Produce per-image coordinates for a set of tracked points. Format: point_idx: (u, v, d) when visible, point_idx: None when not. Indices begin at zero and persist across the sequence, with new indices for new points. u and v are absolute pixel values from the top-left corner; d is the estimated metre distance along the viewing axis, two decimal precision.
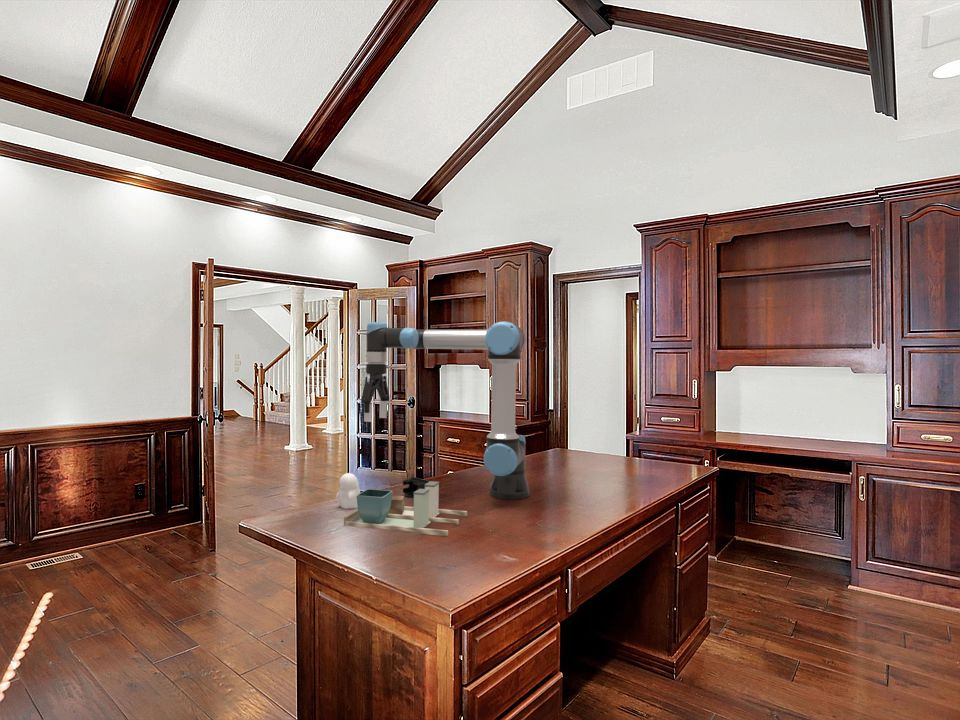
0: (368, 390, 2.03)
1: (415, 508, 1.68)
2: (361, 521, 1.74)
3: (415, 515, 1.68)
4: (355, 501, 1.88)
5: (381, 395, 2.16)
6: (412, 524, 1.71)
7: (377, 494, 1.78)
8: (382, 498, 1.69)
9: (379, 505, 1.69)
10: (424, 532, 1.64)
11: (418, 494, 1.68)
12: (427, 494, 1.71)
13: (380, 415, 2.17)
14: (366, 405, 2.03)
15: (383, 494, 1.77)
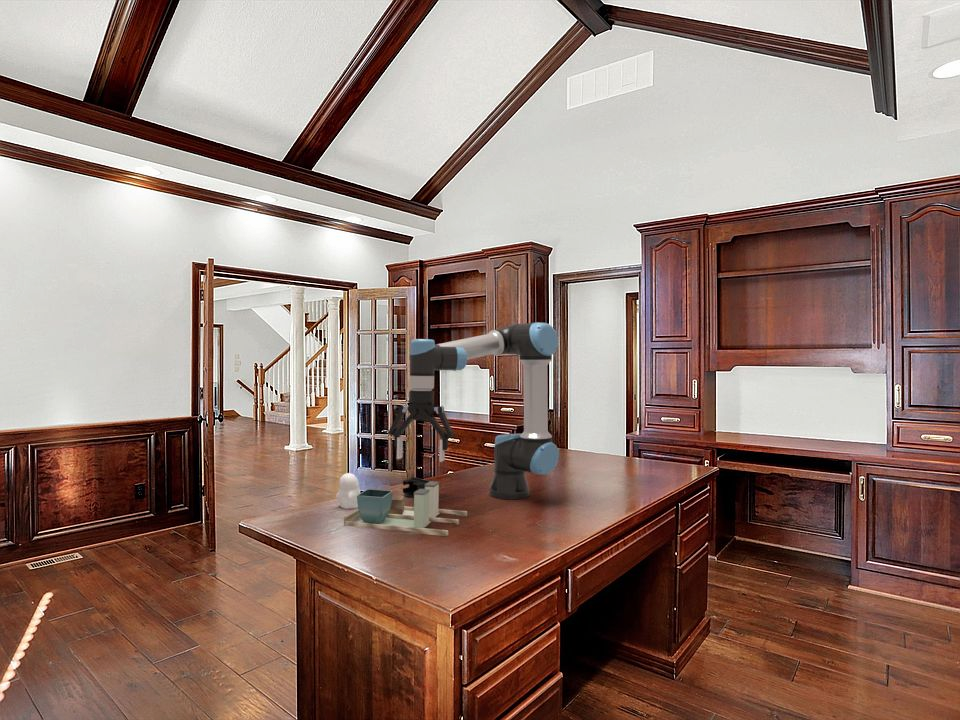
0: None
1: (415, 508, 1.68)
2: (361, 521, 1.74)
3: (415, 515, 1.68)
4: (355, 501, 1.88)
5: None
6: (412, 524, 1.71)
7: (377, 494, 1.78)
8: (382, 498, 1.69)
9: (379, 505, 1.69)
10: (424, 532, 1.64)
11: (418, 494, 1.68)
12: (427, 494, 1.71)
13: None
14: None
15: (383, 494, 1.77)
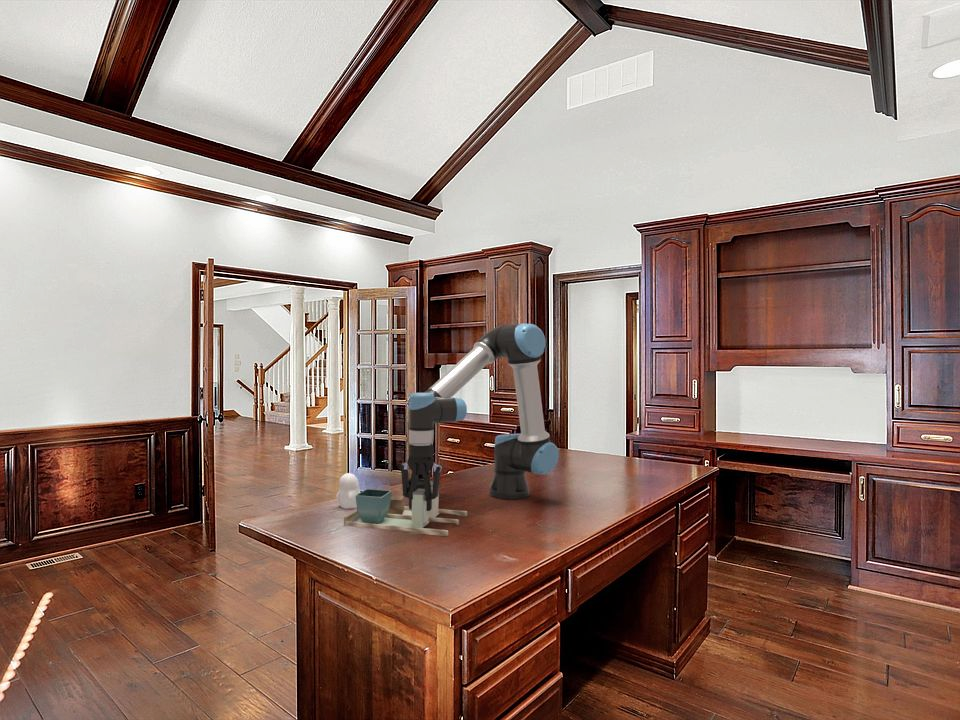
0: None
1: (414, 508, 1.68)
2: (360, 521, 1.74)
3: (414, 515, 1.68)
4: (355, 501, 1.88)
5: None
6: (411, 524, 1.71)
7: (376, 494, 1.78)
8: (381, 498, 1.69)
9: (378, 505, 1.69)
10: (424, 532, 1.64)
11: (417, 494, 1.68)
12: None
13: None
14: None
15: (382, 494, 1.77)
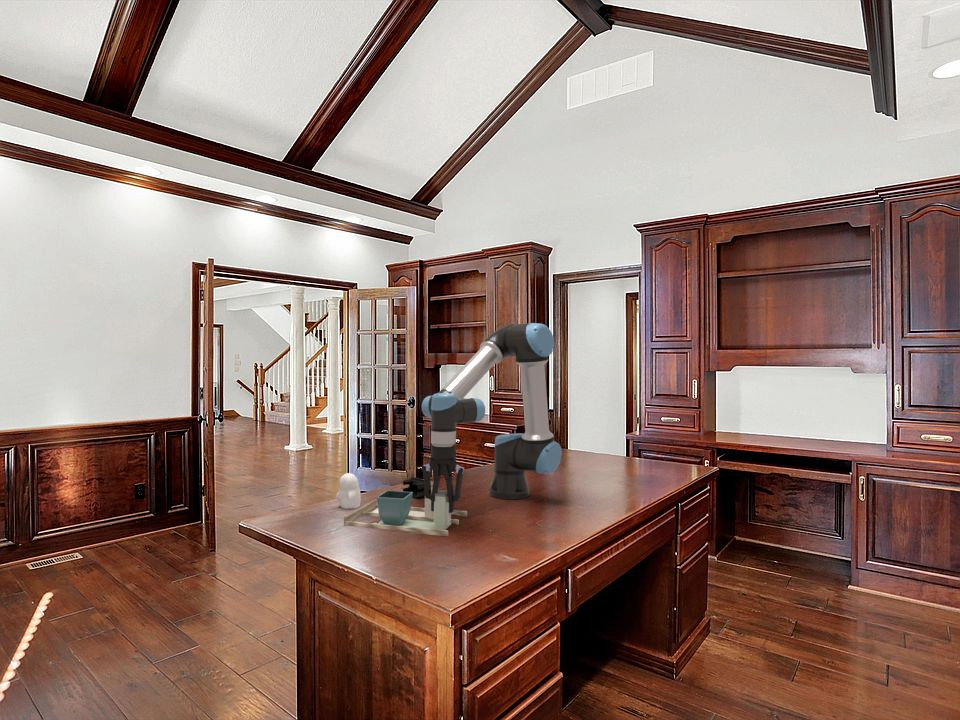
0: None
1: (436, 510, 1.66)
2: (381, 523, 1.72)
3: (436, 517, 1.66)
4: (355, 501, 1.88)
5: None
6: (433, 526, 1.70)
7: (397, 496, 1.76)
8: (403, 500, 1.67)
9: (400, 507, 1.67)
10: (424, 532, 1.64)
11: (439, 496, 1.66)
12: None
13: None
14: None
15: (403, 495, 1.76)
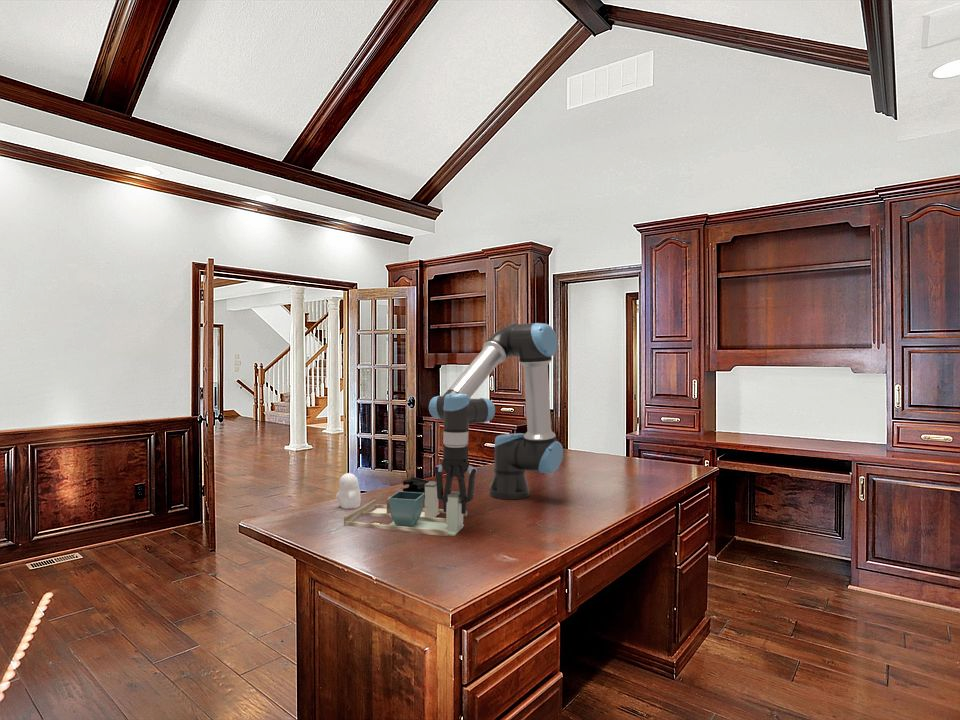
0: None
1: (449, 511, 1.65)
2: (393, 524, 1.71)
3: (449, 518, 1.65)
4: (355, 501, 1.88)
5: None
6: (445, 527, 1.69)
7: (409, 497, 1.75)
8: (415, 501, 1.66)
9: (412, 508, 1.67)
10: (424, 532, 1.64)
11: (452, 497, 1.65)
12: None
13: None
14: None
15: (414, 496, 1.75)
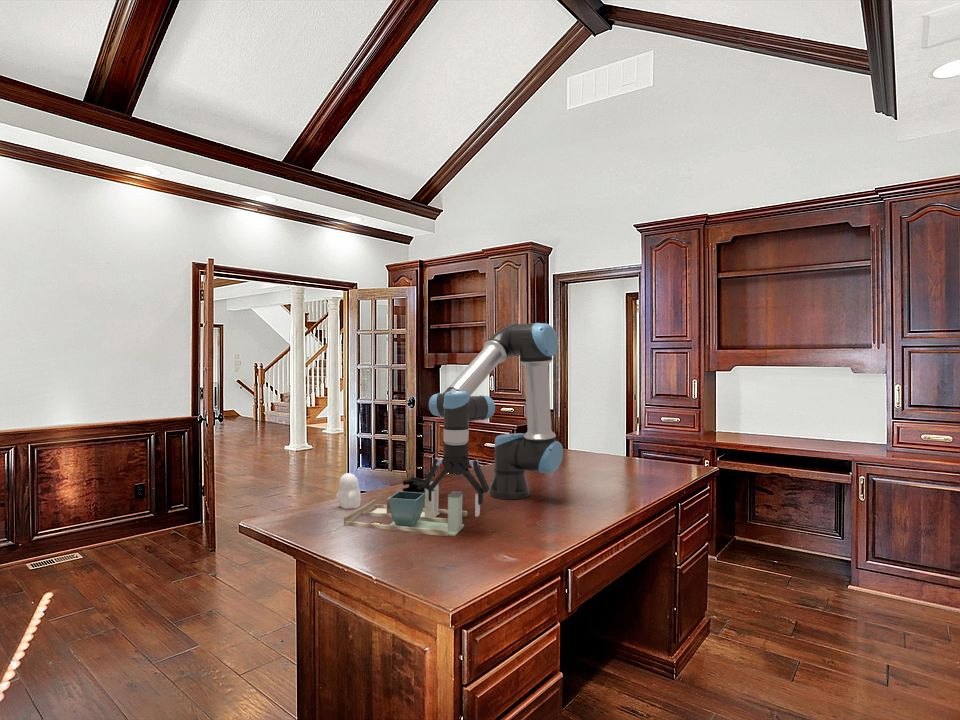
0: (428, 474, 1.69)
1: (449, 511, 1.65)
2: (393, 524, 1.71)
3: (449, 518, 1.65)
4: (355, 501, 1.88)
5: None
6: (446, 527, 1.69)
7: (409, 497, 1.75)
8: (416, 501, 1.66)
9: (412, 508, 1.67)
10: (424, 532, 1.64)
11: (452, 497, 1.65)
12: (461, 497, 1.68)
13: None
14: None
15: (415, 496, 1.75)
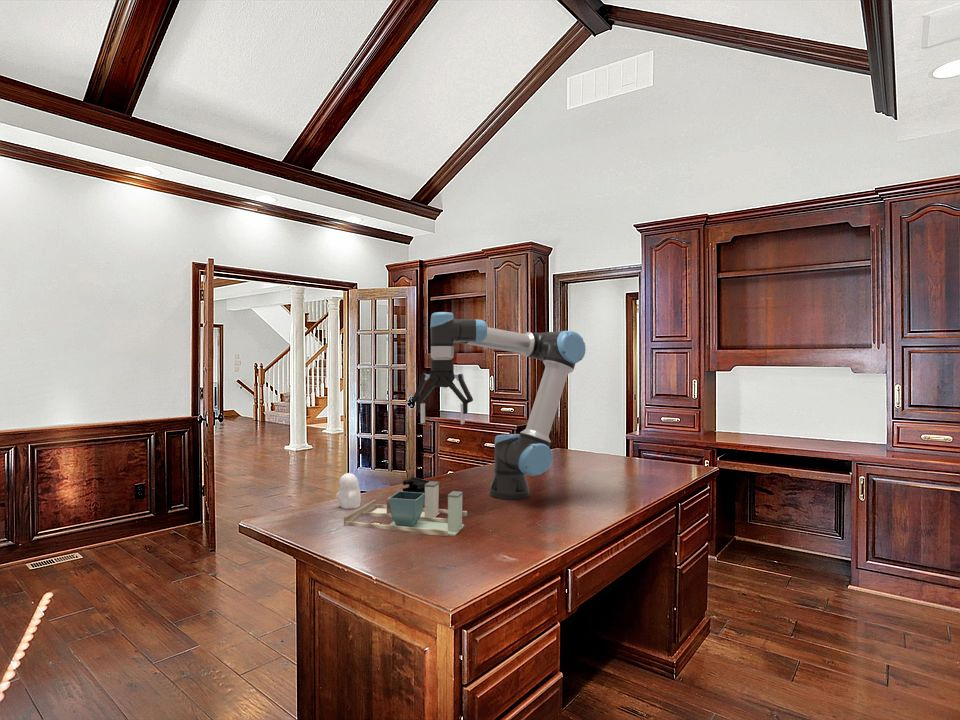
0: None
1: (449, 511, 1.65)
2: (393, 524, 1.71)
3: (449, 518, 1.65)
4: (355, 501, 1.88)
5: None
6: (446, 527, 1.69)
7: (409, 497, 1.75)
8: (416, 501, 1.66)
9: (412, 508, 1.66)
10: (424, 532, 1.64)
11: (452, 497, 1.65)
12: (461, 497, 1.68)
13: None
14: None
15: (415, 496, 1.75)
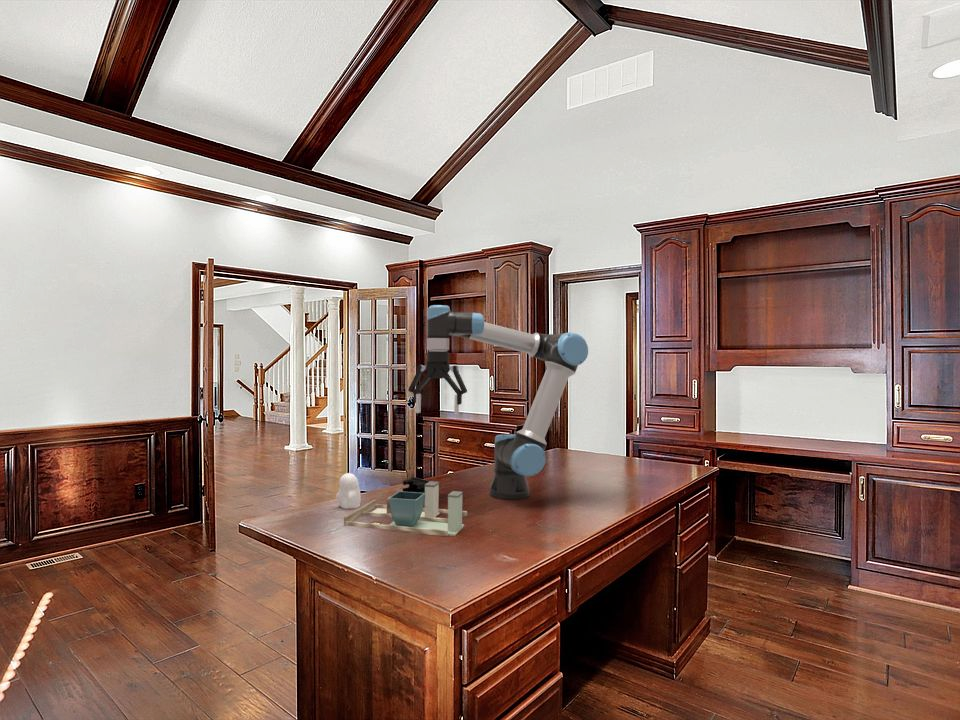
0: (413, 379, 1.91)
1: (449, 511, 1.65)
2: (393, 524, 1.71)
3: (449, 518, 1.65)
4: (355, 501, 1.88)
5: None
6: (446, 527, 1.69)
7: (409, 497, 1.75)
8: (416, 501, 1.66)
9: (412, 508, 1.66)
10: (424, 532, 1.64)
11: (452, 497, 1.65)
12: (461, 497, 1.68)
13: None
14: None
15: (415, 496, 1.75)
